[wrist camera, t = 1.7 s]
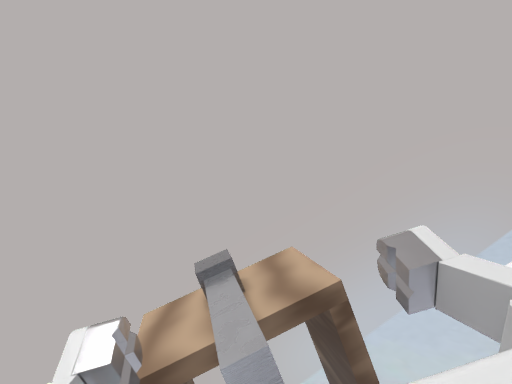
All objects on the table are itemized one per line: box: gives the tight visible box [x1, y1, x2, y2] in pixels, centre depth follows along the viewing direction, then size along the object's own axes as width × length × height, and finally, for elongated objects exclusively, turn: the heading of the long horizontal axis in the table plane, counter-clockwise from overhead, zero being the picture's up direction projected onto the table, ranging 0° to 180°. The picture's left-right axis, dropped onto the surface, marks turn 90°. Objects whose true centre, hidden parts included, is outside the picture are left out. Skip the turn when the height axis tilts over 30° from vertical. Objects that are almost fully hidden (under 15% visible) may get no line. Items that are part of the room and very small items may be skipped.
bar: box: [195, 249, 284, 384], centre depth 29 cm, size 4×20×4 cm, turn 10°
